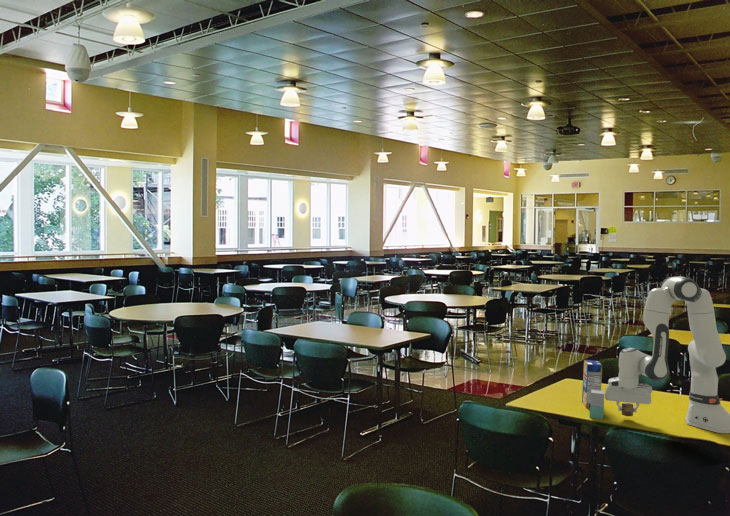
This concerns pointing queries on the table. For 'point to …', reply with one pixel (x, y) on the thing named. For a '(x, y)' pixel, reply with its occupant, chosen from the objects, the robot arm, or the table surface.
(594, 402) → the tower top
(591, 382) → the beverage box
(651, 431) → the table surface
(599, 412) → the tower base
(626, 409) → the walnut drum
